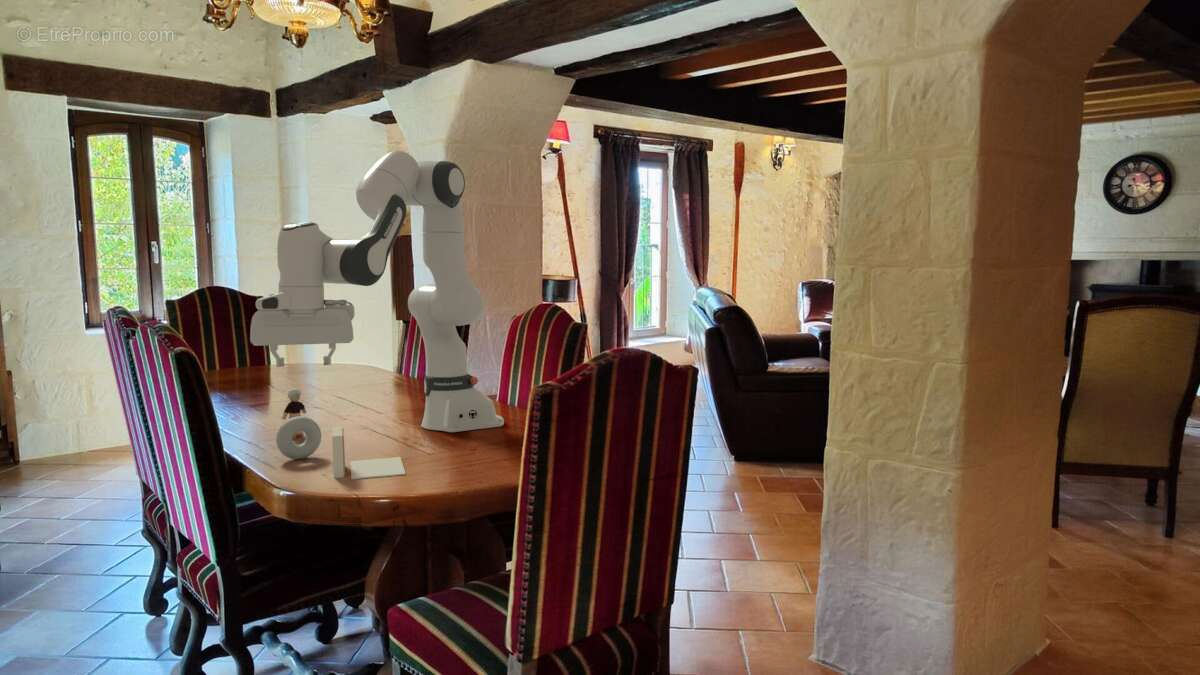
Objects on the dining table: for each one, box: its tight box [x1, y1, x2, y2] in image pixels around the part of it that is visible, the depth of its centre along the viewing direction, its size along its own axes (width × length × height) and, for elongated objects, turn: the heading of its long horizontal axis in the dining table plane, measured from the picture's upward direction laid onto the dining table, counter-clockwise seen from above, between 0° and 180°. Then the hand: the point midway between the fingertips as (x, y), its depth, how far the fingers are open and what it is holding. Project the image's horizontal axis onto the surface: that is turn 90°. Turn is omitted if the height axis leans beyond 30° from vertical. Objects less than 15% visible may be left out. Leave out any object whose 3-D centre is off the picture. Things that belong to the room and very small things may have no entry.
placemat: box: [350, 456, 406, 480], centre depth 166 cm, size 11×14×1 cm
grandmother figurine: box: [281, 387, 307, 440], centre depth 195 cm, size 8×4×13 cm, turn 168°
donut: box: [275, 415, 322, 460], centre depth 173 cm, size 10×4×10 cm, turn 129°
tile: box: [331, 426, 346, 479], centre depth 163 cm, size 2×9×9 cm, turn 19°
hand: (304, 365), depth 159 cm, fingers open, 8 cm apart
